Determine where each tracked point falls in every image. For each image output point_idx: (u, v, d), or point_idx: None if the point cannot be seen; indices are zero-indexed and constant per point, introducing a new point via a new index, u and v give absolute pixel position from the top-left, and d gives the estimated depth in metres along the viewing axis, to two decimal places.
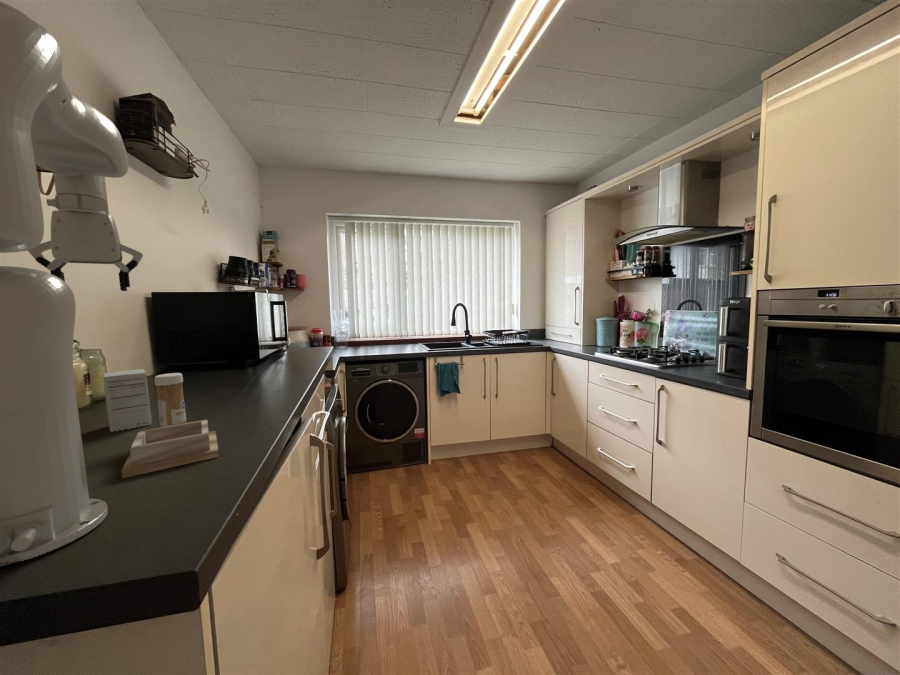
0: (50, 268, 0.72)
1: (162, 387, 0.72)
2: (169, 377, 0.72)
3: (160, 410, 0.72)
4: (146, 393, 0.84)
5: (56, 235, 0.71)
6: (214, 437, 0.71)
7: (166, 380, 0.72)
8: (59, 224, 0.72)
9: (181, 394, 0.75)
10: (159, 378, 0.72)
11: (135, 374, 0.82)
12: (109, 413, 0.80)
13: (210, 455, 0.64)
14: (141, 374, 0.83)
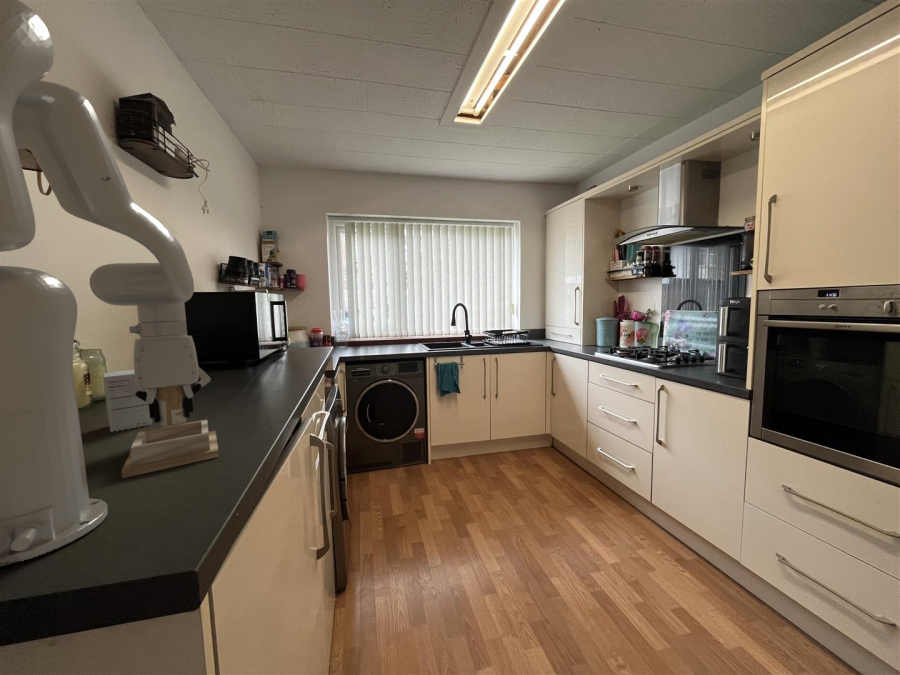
0: (149, 401, 0.71)
1: None
2: None
3: (160, 410, 0.72)
4: None
5: (140, 365, 0.69)
6: (214, 437, 0.71)
7: None
8: (142, 353, 0.69)
9: (181, 394, 0.75)
10: None
11: None
12: (109, 413, 0.80)
13: (210, 455, 0.64)
14: None
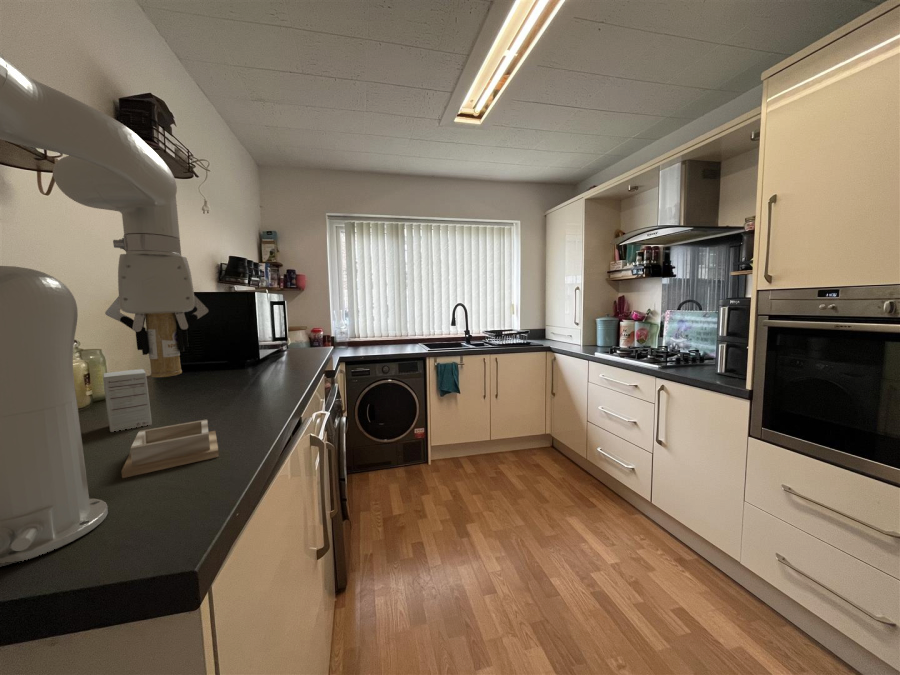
0: (136, 329, 0.61)
1: (151, 313, 0.62)
2: None
3: (149, 340, 0.62)
4: (146, 393, 0.84)
5: (125, 284, 0.59)
6: (214, 437, 0.71)
7: None
8: (128, 270, 0.59)
9: (174, 324, 0.64)
10: None
11: (135, 374, 0.82)
12: (109, 413, 0.80)
13: (210, 455, 0.64)
14: (141, 374, 0.83)
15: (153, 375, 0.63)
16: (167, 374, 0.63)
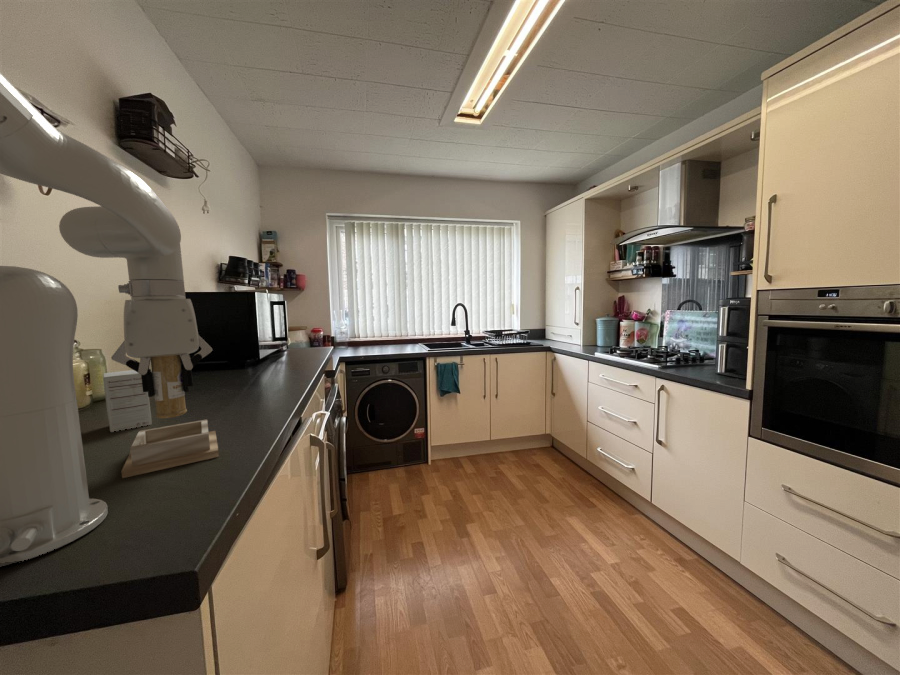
0: (141, 372, 0.62)
1: None
2: None
3: (155, 382, 0.63)
4: (146, 393, 0.84)
5: (130, 329, 0.60)
6: (214, 437, 0.71)
7: None
8: (134, 316, 0.60)
9: (179, 365, 0.65)
10: None
11: (135, 374, 0.82)
12: (109, 413, 0.80)
13: (210, 455, 0.64)
14: None
15: (159, 416, 0.64)
16: (172, 415, 0.64)
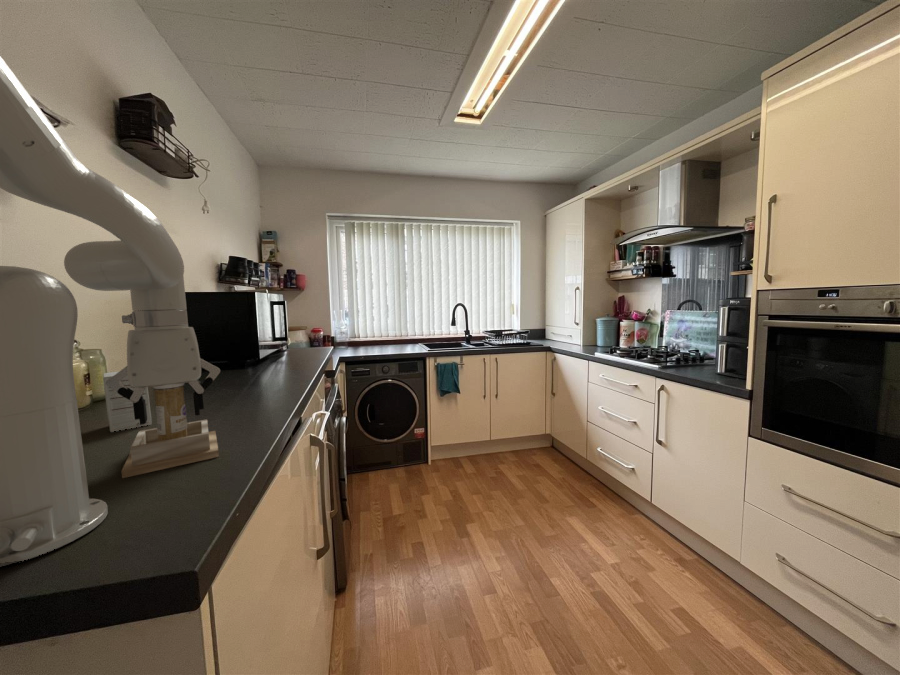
0: (133, 400, 0.62)
1: (161, 391, 0.63)
2: None
3: (158, 416, 0.63)
4: (146, 393, 0.84)
5: (134, 360, 0.60)
6: (214, 437, 0.71)
7: None
8: (137, 346, 0.60)
9: (182, 398, 0.66)
10: None
11: None
12: (109, 413, 0.80)
13: (210, 455, 0.64)
14: None
15: None
16: None
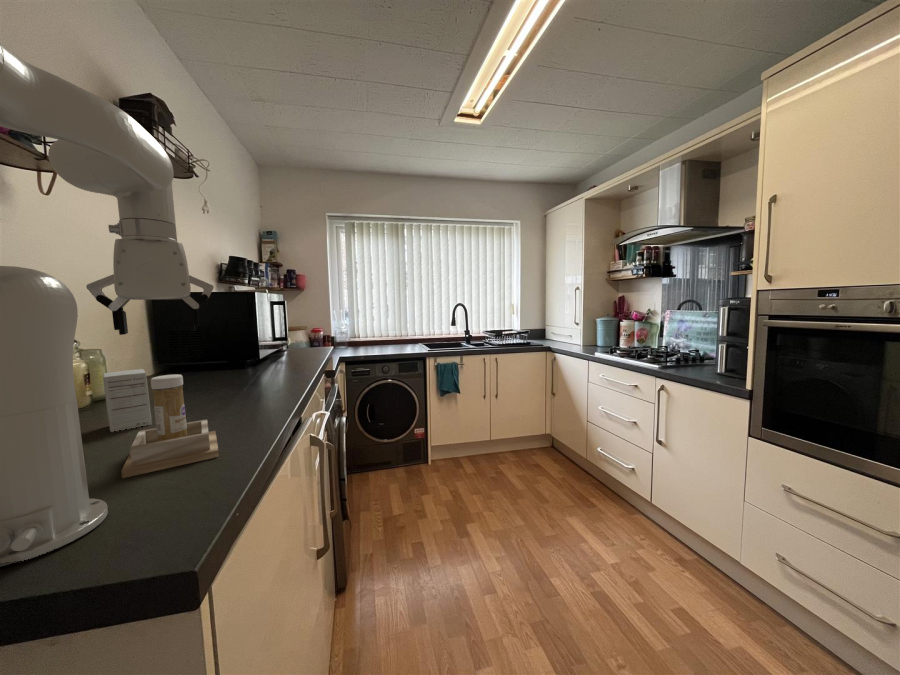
0: (112, 308, 0.60)
1: (159, 391, 0.63)
2: (167, 379, 0.63)
3: (157, 417, 0.63)
4: (146, 393, 0.84)
5: (120, 269, 0.59)
6: (214, 437, 0.71)
7: (164, 382, 0.63)
8: (123, 255, 0.59)
9: (181, 398, 0.66)
10: (156, 380, 0.63)
11: (135, 374, 0.82)
12: (109, 413, 0.80)
13: (210, 455, 0.64)
14: (141, 374, 0.83)
15: None
16: None
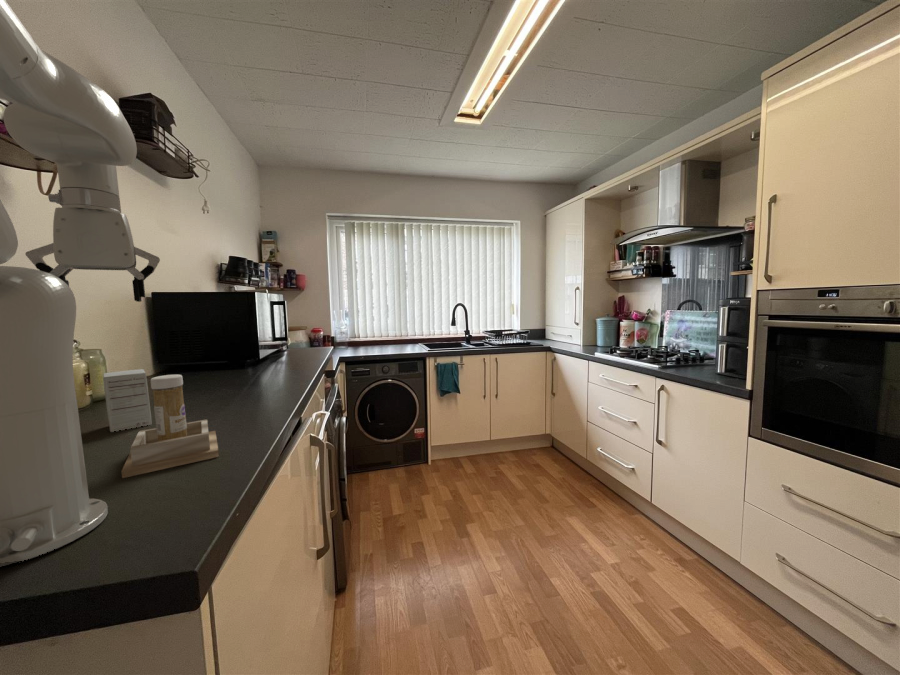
0: None
1: (159, 391, 0.63)
2: (167, 379, 0.63)
3: (157, 417, 0.63)
4: (146, 393, 0.84)
5: (60, 237, 0.60)
6: (214, 437, 0.71)
7: (164, 383, 0.63)
8: (63, 224, 0.60)
9: (181, 398, 0.66)
10: (156, 380, 0.63)
11: (135, 374, 0.82)
12: (109, 413, 0.80)
13: (210, 455, 0.64)
14: (141, 374, 0.83)
15: None
16: None
